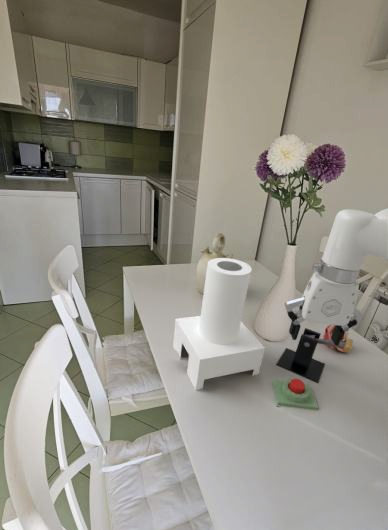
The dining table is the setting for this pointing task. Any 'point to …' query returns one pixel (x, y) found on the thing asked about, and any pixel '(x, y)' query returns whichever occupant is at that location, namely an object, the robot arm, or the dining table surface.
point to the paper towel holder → (220, 326)
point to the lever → (329, 342)
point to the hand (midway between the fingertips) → (313, 339)
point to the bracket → (303, 358)
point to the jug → (208, 256)
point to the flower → (328, 335)
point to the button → (297, 386)
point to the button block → (293, 395)
